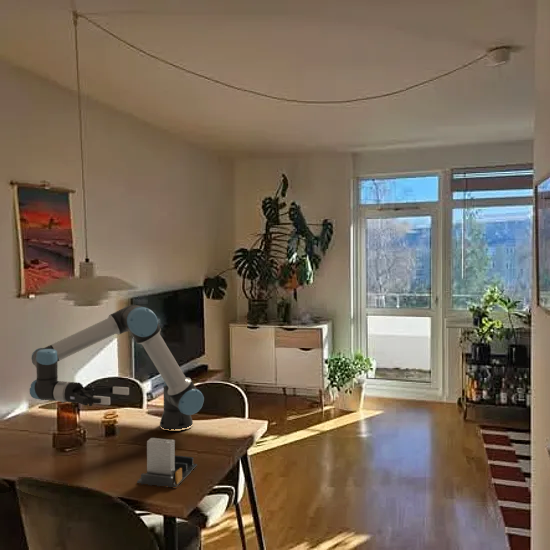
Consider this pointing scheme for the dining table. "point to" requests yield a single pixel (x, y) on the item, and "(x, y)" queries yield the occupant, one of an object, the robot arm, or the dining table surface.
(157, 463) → the panel
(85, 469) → the dining table surface
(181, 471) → the rack
